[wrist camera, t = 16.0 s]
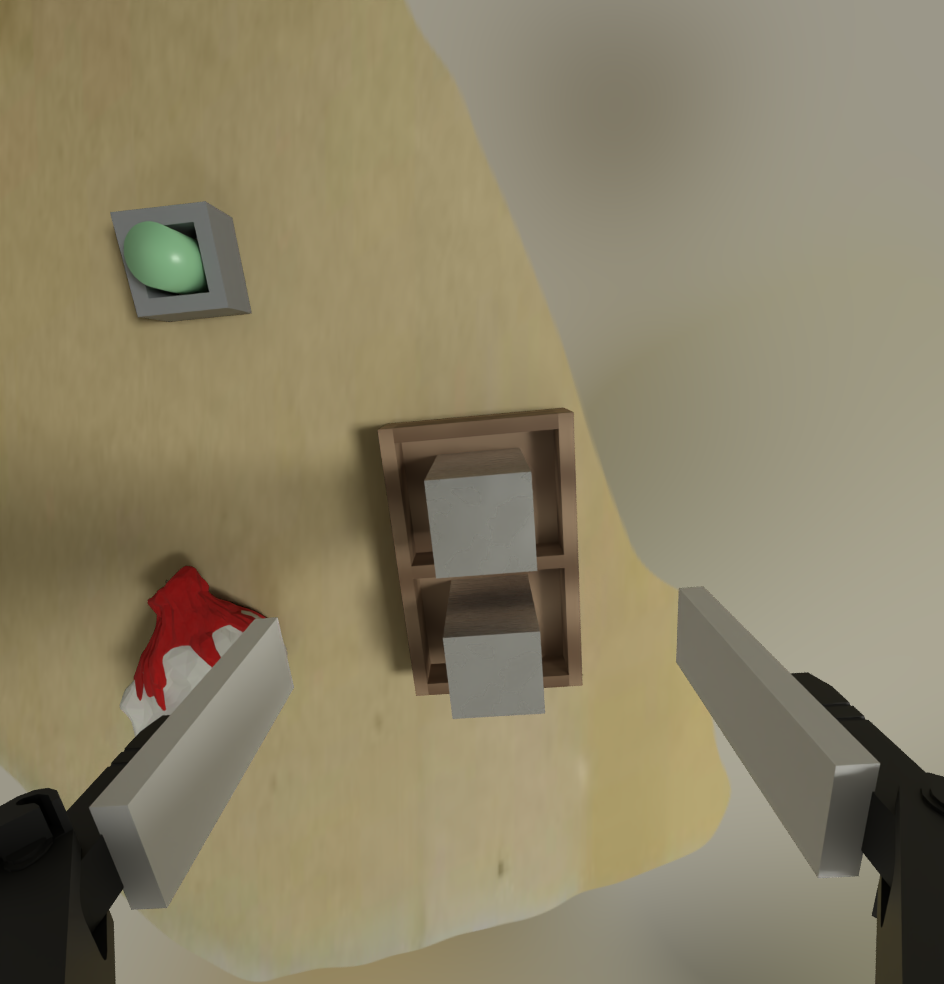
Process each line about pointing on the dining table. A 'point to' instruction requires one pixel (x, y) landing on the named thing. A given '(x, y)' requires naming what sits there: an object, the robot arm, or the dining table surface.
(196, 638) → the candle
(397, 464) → the wooden cubby shelf
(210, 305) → the button housing
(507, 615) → the block
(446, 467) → the block
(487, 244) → the dining table surface
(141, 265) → the button
